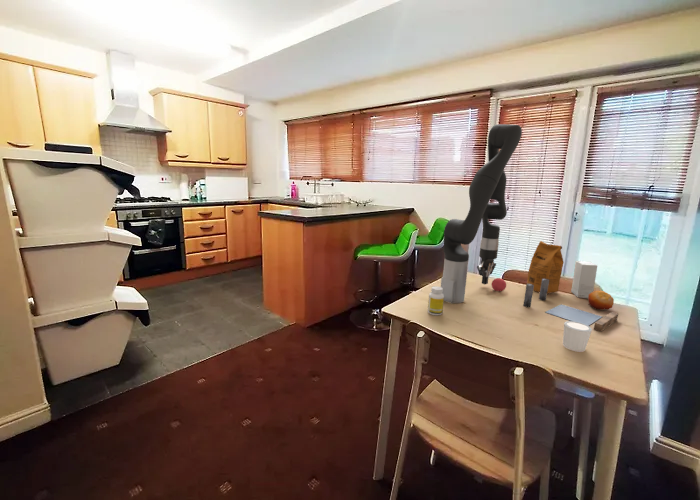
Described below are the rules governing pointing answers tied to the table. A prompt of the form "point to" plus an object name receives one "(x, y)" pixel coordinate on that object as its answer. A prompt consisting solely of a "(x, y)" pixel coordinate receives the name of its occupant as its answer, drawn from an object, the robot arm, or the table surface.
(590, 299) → the fruit
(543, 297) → the far post
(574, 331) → the white cup
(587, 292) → the skincare box
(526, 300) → the near post
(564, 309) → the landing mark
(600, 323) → the wall
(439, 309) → the supplement bottle
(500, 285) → the ball
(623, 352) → the table surface
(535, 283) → the coffee package
